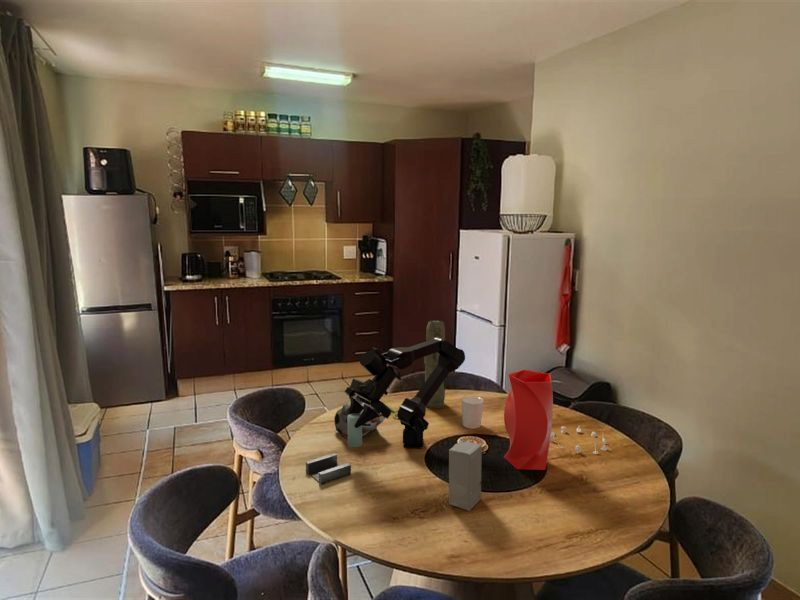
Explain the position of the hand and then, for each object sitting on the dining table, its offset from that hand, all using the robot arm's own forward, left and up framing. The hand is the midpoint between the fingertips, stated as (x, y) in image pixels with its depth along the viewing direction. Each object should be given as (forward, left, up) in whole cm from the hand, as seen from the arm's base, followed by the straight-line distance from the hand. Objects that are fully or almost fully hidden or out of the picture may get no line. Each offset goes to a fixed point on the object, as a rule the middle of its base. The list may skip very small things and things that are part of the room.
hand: (351, 424), depth 157 cm
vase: (-55, -8, -14) cm, 57 cm away
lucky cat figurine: (+1, -25, -14) cm, 28 cm away
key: (-11, -43, -14) cm, 47 cm away
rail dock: (+6, +5, -13) cm, 16 cm away
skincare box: (-34, +17, -14) cm, 40 cm away
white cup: (-40, -35, -14) cm, 55 cm away
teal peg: (-1, -1, -7) cm, 7 cm away
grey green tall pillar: (-26, -55, -14) cm, 62 cm away
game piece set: (-76, -24, -14) cm, 81 cm away
